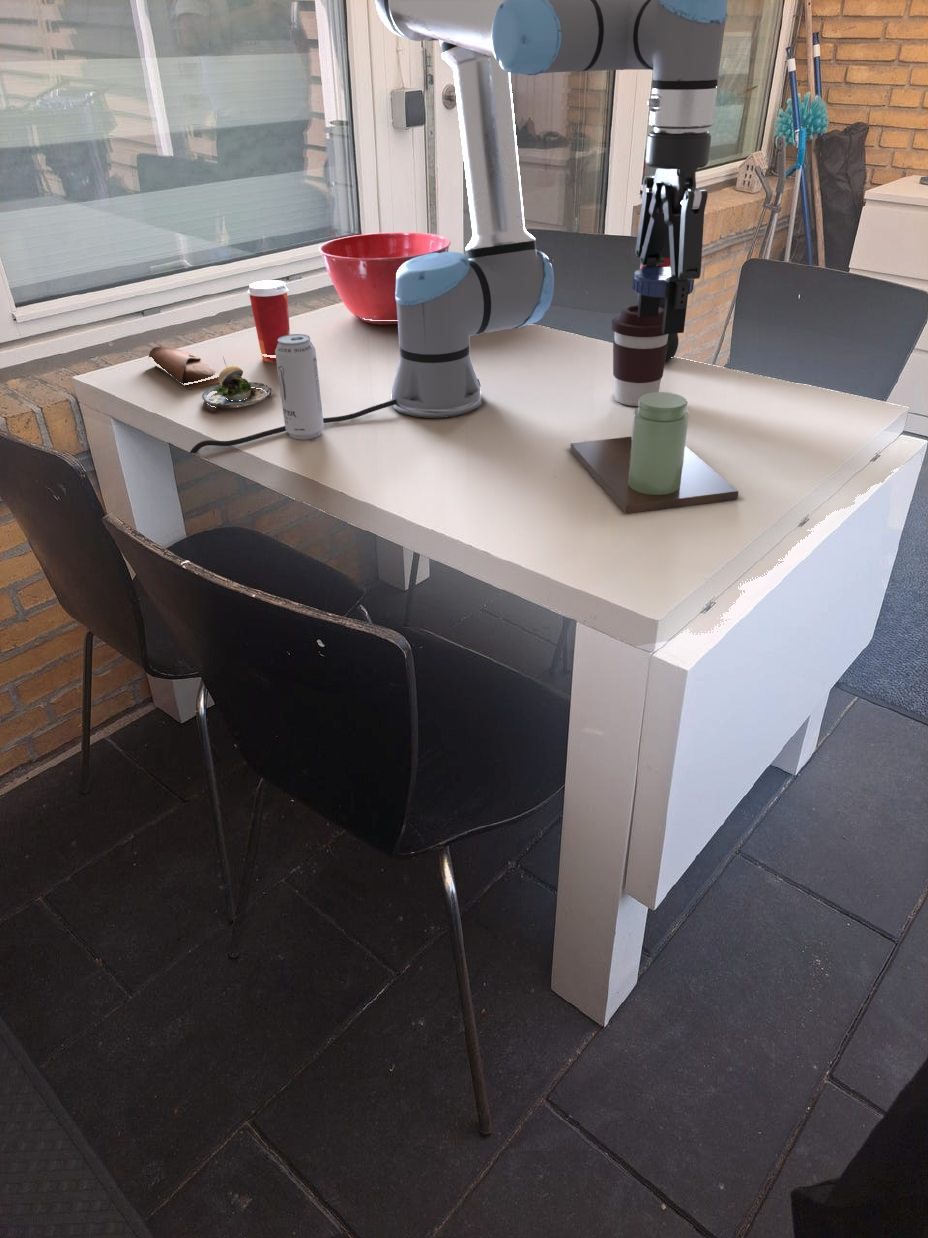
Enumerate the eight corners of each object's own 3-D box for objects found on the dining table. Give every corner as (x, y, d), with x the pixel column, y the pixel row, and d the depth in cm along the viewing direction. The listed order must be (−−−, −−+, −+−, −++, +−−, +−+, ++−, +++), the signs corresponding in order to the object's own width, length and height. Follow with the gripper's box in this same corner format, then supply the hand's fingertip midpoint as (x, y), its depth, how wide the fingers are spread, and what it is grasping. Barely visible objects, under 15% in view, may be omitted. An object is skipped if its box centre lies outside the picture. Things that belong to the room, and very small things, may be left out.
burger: (209, 418, 149) (201, 374, 145) (197, 397, 158) (189, 354, 154) (280, 407, 153) (274, 364, 149) (264, 387, 162) (258, 345, 158)
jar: (639, 498, 118) (648, 411, 112) (619, 476, 124) (626, 393, 117) (689, 491, 119) (700, 406, 113) (667, 471, 125) (676, 388, 119)
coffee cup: (671, 394, 155) (681, 304, 147) (656, 413, 147) (666, 319, 139) (616, 387, 158) (622, 299, 150) (598, 405, 151) (604, 314, 143)
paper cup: (304, 355, 177) (296, 281, 170) (278, 366, 172) (268, 290, 164) (275, 350, 181) (265, 277, 173) (248, 360, 176) (237, 285, 168)
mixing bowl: (309, 332, 191) (300, 255, 183) (346, 299, 215) (339, 230, 206) (439, 336, 187) (436, 257, 179) (462, 301, 211) (460, 231, 202)
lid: (695, 285, 119) (697, 268, 118) (689, 299, 113) (691, 282, 112) (637, 281, 121) (638, 265, 120) (628, 295, 115) (629, 278, 114)
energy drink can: (282, 430, 144) (269, 336, 136) (318, 424, 146) (308, 330, 138) (291, 443, 139) (278, 346, 131) (329, 436, 141) (318, 340, 133)
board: (625, 513, 117) (626, 505, 116) (569, 450, 135) (570, 443, 134) (737, 499, 120) (739, 491, 119) (668, 439, 138) (669, 431, 137)
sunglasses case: (228, 378, 165) (205, 350, 160) (200, 404, 164) (176, 377, 159) (190, 356, 177) (168, 329, 172) (164, 380, 176) (141, 354, 171)
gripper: (618, 123, 115) (606, 307, 127) (687, 138, 98) (664, 348, 110) (673, 121, 116) (655, 303, 128) (750, 136, 99) (721, 343, 112)
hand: (659, 323), depth 119 cm, fingers closed on lid, 7 cm apart
